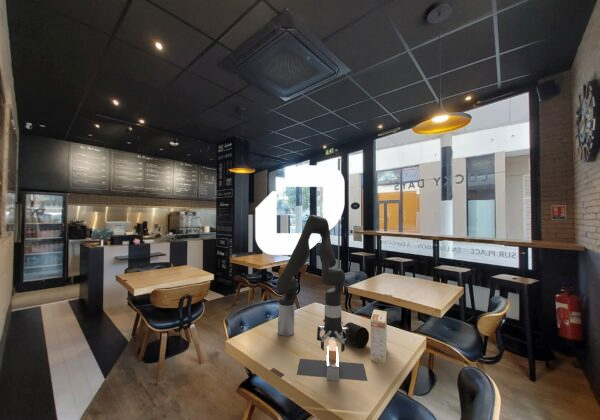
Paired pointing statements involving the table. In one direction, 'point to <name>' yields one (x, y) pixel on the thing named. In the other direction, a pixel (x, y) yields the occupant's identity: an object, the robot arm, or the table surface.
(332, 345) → the plug
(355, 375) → the mat
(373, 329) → the coffeecake box
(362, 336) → the black white tapered bottle
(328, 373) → the housing
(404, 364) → the table surface
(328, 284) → the robot arm
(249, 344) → the table surface
